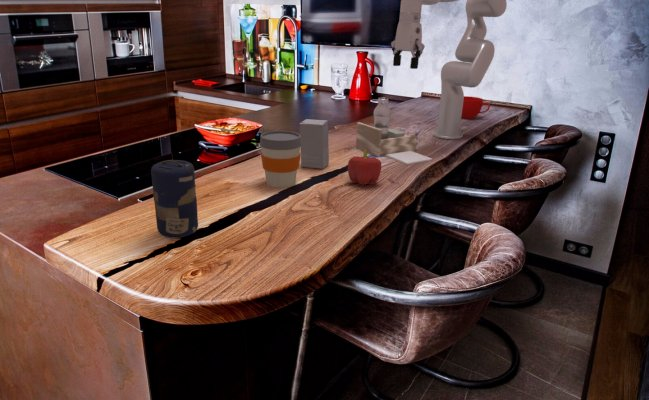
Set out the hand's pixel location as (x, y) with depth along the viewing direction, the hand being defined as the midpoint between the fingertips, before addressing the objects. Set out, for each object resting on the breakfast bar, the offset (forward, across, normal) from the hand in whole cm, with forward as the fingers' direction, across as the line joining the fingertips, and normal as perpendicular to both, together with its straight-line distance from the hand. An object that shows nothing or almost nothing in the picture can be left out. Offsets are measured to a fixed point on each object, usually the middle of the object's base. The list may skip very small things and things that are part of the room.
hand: (405, 67), depth 185 cm
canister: (+34, -36, +98) cm, 110 cm away
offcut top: (+27, 0, +2) cm, 27 cm away
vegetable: (+32, -28, +37) cm, 56 cm away
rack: (+31, 0, +5) cm, 31 cm away
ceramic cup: (+29, +26, -71) cm, 81 cm away
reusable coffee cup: (+33, -16, +60) cm, 70 cm away
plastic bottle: (+31, 0, +8) cm, 33 cm away
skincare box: (+32, -6, +42) cm, 53 cm away
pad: (+31, -14, +6) cm, 35 cm away
